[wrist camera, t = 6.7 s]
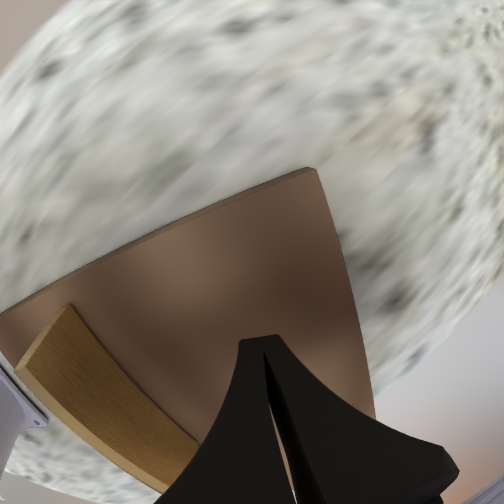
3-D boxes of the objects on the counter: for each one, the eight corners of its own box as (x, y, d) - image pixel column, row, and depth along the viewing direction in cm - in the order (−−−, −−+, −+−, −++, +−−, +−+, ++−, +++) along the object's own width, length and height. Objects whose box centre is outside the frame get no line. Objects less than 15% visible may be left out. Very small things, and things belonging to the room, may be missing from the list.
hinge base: (195, 503, 19) (197, 546, 14) (-7, 318, 10) (-55, 373, 6) (376, 452, 18) (397, 496, 14) (307, 167, 10) (379, 187, 5)
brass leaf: (225, 457, 14) (230, 511, 10) (198, 463, 14) (200, 515, 10) (77, 298, 9) (32, 362, 6) (50, 314, 10) (6, 374, 6)
